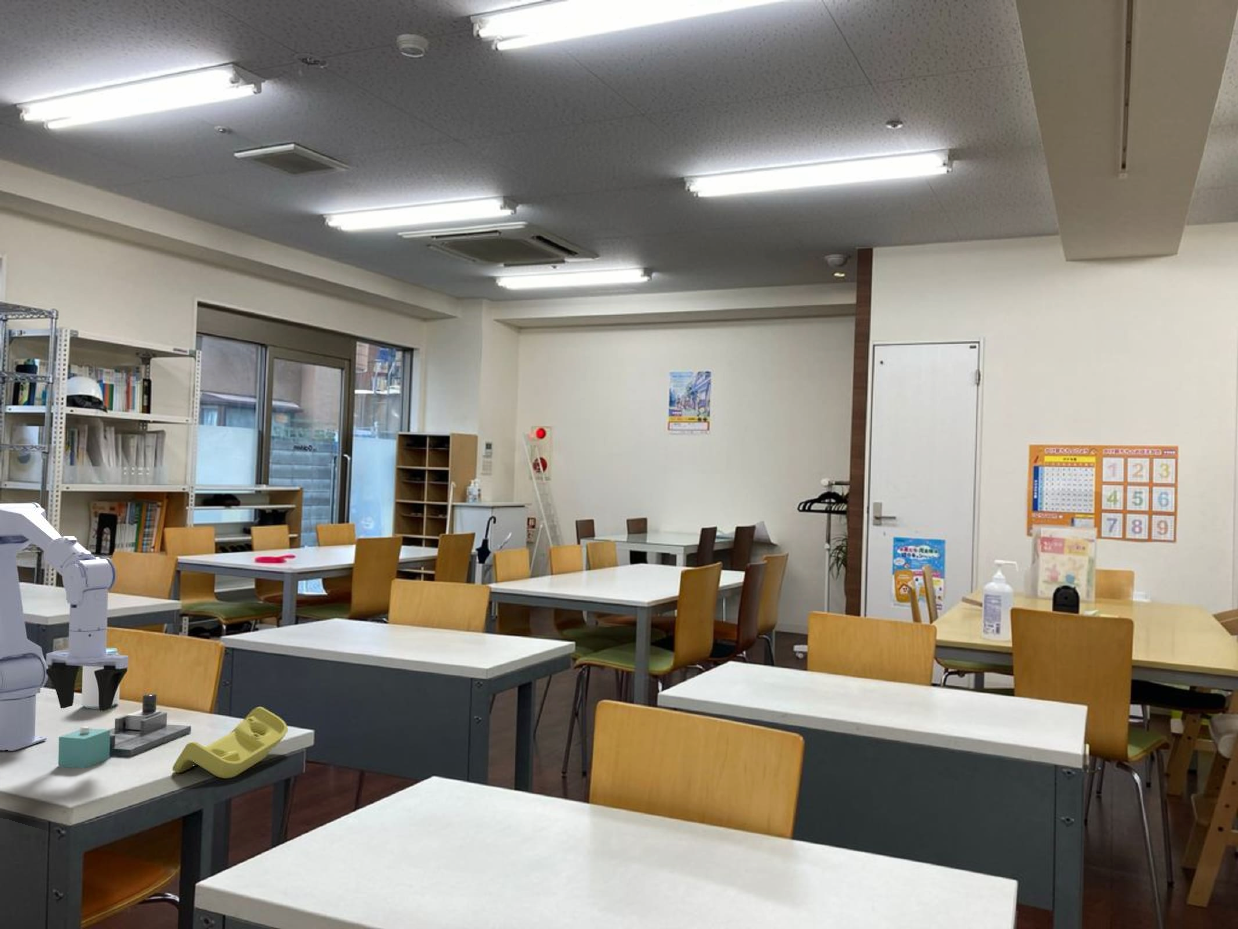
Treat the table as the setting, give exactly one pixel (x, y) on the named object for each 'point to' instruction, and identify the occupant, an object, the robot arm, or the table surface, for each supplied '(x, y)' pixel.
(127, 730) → the press bed
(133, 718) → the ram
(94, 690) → the can
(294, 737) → the table surface
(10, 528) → the robot arm
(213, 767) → the plastic component
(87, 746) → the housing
